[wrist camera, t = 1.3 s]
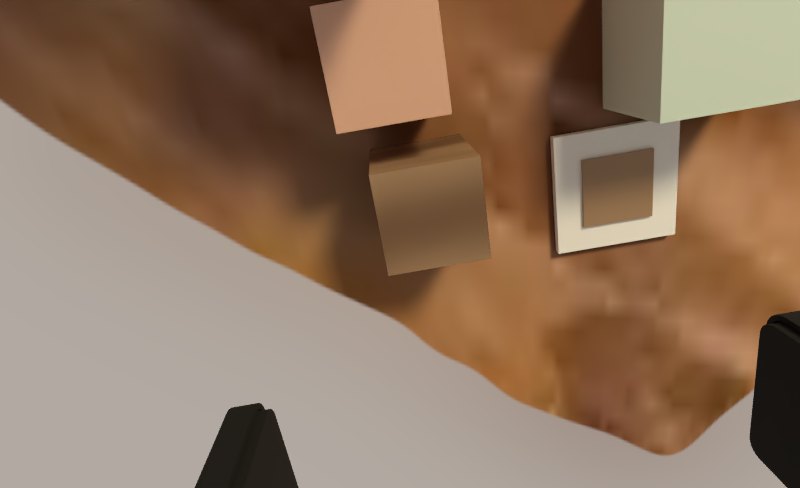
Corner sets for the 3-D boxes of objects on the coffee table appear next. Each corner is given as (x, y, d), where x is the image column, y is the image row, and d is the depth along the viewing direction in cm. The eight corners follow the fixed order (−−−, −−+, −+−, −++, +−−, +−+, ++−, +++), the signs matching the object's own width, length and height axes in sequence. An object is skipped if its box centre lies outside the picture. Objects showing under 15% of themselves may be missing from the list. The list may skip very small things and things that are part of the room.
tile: (550, 136, 27) (554, 138, 27) (675, 114, 27) (682, 116, 27) (556, 250, 30) (559, 255, 29) (670, 231, 30) (676, 235, 29)
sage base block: (600, -35, 25) (666, -59, 19) (740, -60, 24) (848, -92, 19) (602, 108, 27) (660, 123, 22) (728, 86, 27) (820, 96, 21)
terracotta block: (324, 16, 25) (309, 6, 19) (422, -2, 25) (435, -17, 19) (344, 116, 27) (336, 134, 21) (436, 100, 27) (451, 113, 21)
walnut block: (370, 149, 27) (368, 175, 22) (459, 134, 27) (480, 155, 22) (386, 232, 29) (388, 276, 24) (469, 218, 29) (491, 258, 24)
